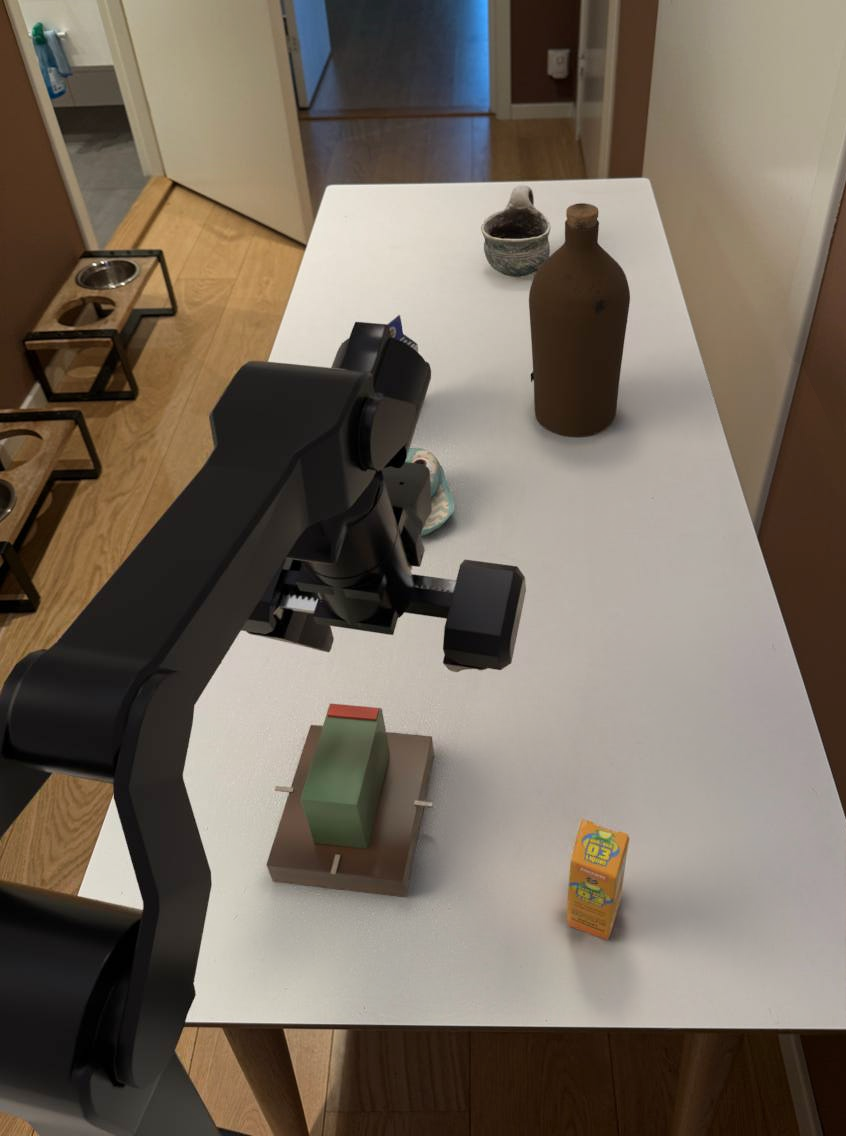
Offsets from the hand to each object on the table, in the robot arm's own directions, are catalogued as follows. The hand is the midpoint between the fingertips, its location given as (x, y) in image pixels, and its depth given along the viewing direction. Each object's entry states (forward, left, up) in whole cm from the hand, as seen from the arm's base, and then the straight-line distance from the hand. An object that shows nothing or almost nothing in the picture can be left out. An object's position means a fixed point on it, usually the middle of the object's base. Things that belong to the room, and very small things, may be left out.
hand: (392, 655), depth 66 cm
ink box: (+24, +40, -15) cm, 49 cm away
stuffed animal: (+17, +26, -15) cm, 34 cm away
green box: (-5, 0, -13) cm, 14 cm away
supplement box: (+4, -17, -15) cm, 23 cm away
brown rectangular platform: (-5, 0, -15) cm, 16 cm away
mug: (+59, +60, -15) cm, 85 cm away
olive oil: (+42, +28, -15) cm, 52 cm away
